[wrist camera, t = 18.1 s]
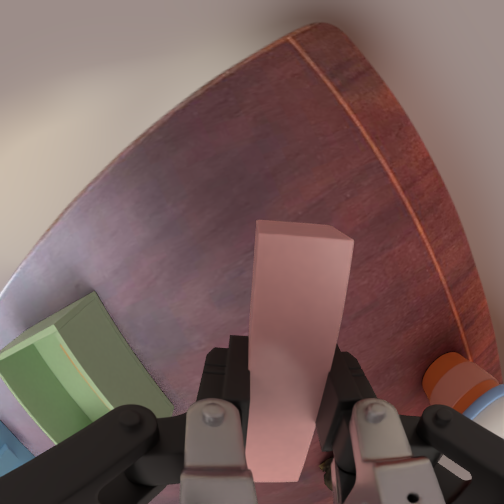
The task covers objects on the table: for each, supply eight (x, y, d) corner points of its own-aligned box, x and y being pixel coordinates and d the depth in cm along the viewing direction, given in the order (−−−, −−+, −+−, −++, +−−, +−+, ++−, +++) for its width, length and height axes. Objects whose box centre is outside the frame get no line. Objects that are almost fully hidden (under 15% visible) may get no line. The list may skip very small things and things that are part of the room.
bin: (25, 330, 28) (-11, 359, 20) (95, 290, 26) (53, 324, 19) (96, 424, 31) (74, 464, 24) (174, 406, 30) (159, 456, 22)
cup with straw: (470, 327, 28) (567, 412, 10) (469, 380, 30) (539, 464, 12) (408, 362, 28) (491, 479, 11) (412, 412, 30) (471, 515, 13)
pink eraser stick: (256, 219, 10) (258, 232, 7) (331, 224, 10) (354, 239, 7) (240, 442, 12) (239, 481, 10) (292, 442, 12) (297, 481, 10)
